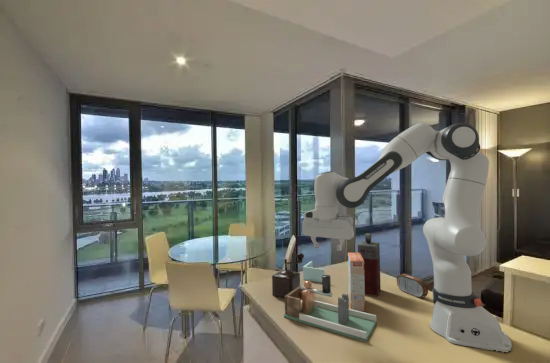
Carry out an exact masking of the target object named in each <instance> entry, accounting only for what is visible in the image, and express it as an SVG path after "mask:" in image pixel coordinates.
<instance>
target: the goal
mask: <svg viewBox="0 0 550 363" xmlns="http://www.w3.org/2000/svg"><path fill="white" fill-rule="evenodd" d="M301 286H302V285H300V286H299V287H297V288H296V289H294V290H293V291H291V292H290V293H289V294H287V295H286V296H285V298H284V314H287V315H291V316H294V317H297V318H299V314H300V313H301V300H302V290H301Z"/></svg>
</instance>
